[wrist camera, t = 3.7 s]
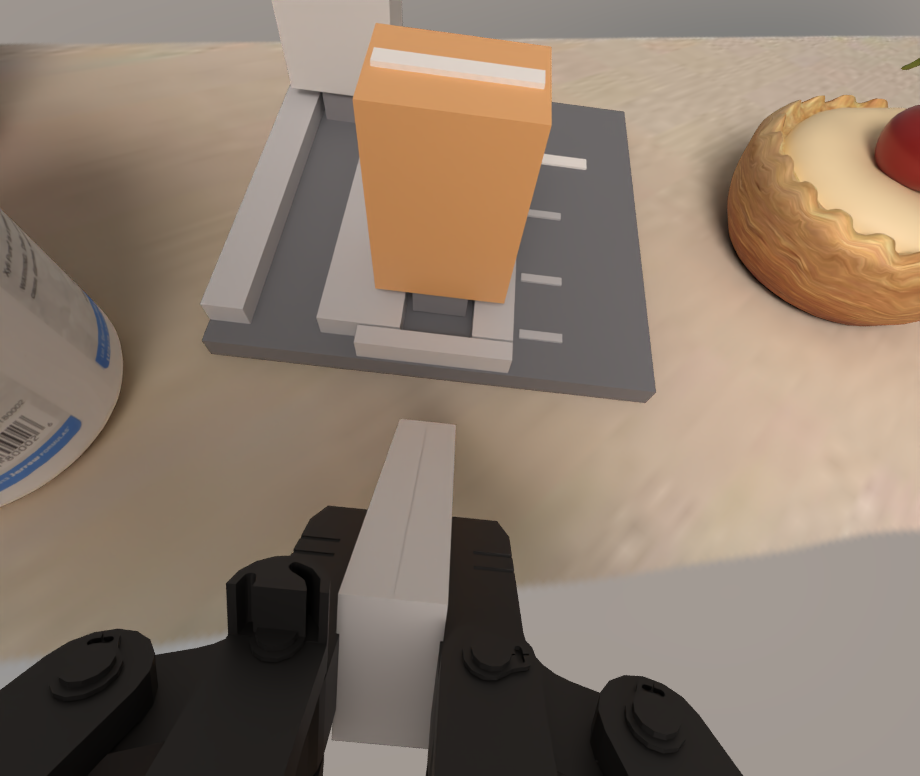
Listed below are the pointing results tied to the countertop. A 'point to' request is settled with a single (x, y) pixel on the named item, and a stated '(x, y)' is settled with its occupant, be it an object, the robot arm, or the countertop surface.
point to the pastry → (833, 209)
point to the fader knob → (449, 160)
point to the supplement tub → (48, 366)
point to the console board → (391, 312)
